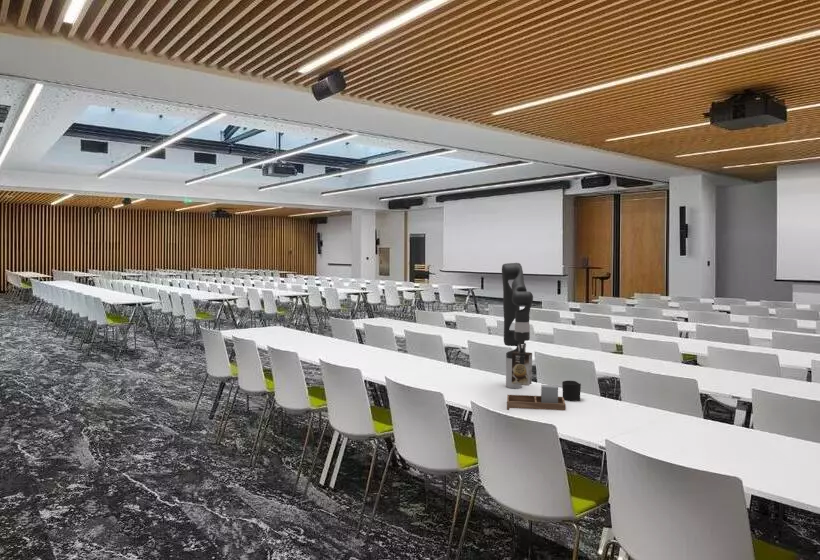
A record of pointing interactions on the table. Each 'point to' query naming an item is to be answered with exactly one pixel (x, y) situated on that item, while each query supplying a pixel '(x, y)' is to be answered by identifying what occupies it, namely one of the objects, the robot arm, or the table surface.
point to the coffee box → (521, 369)
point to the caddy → (533, 403)
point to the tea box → (549, 394)
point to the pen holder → (571, 391)
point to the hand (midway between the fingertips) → (521, 362)
